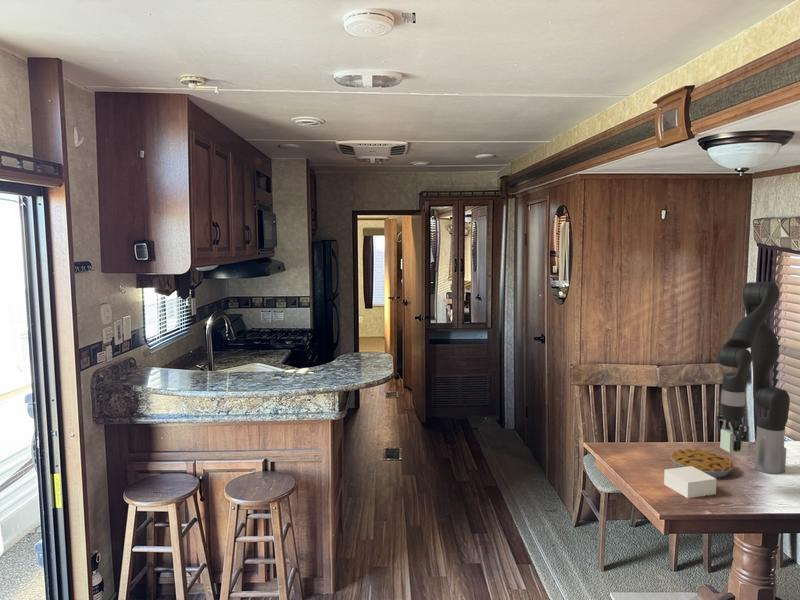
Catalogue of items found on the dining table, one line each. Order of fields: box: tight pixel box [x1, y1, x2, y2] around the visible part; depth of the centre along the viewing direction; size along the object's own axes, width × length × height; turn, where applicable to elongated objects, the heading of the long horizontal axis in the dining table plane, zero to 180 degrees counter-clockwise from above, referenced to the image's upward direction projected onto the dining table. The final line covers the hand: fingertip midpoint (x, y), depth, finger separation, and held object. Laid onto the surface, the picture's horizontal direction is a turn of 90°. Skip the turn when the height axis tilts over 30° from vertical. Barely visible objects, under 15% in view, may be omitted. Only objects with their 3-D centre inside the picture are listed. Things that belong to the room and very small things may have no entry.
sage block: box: [719, 429, 744, 454], centre depth 204 cm, size 5×5×7 cm
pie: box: [670, 448, 735, 479], centre depth 225 cm, size 22×22×5 cm
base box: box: [663, 466, 717, 499], centre depth 207 cm, size 12×12×6 cm
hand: (731, 447), depth 205 cm, fingers closed on sage block, 5 cm apart
